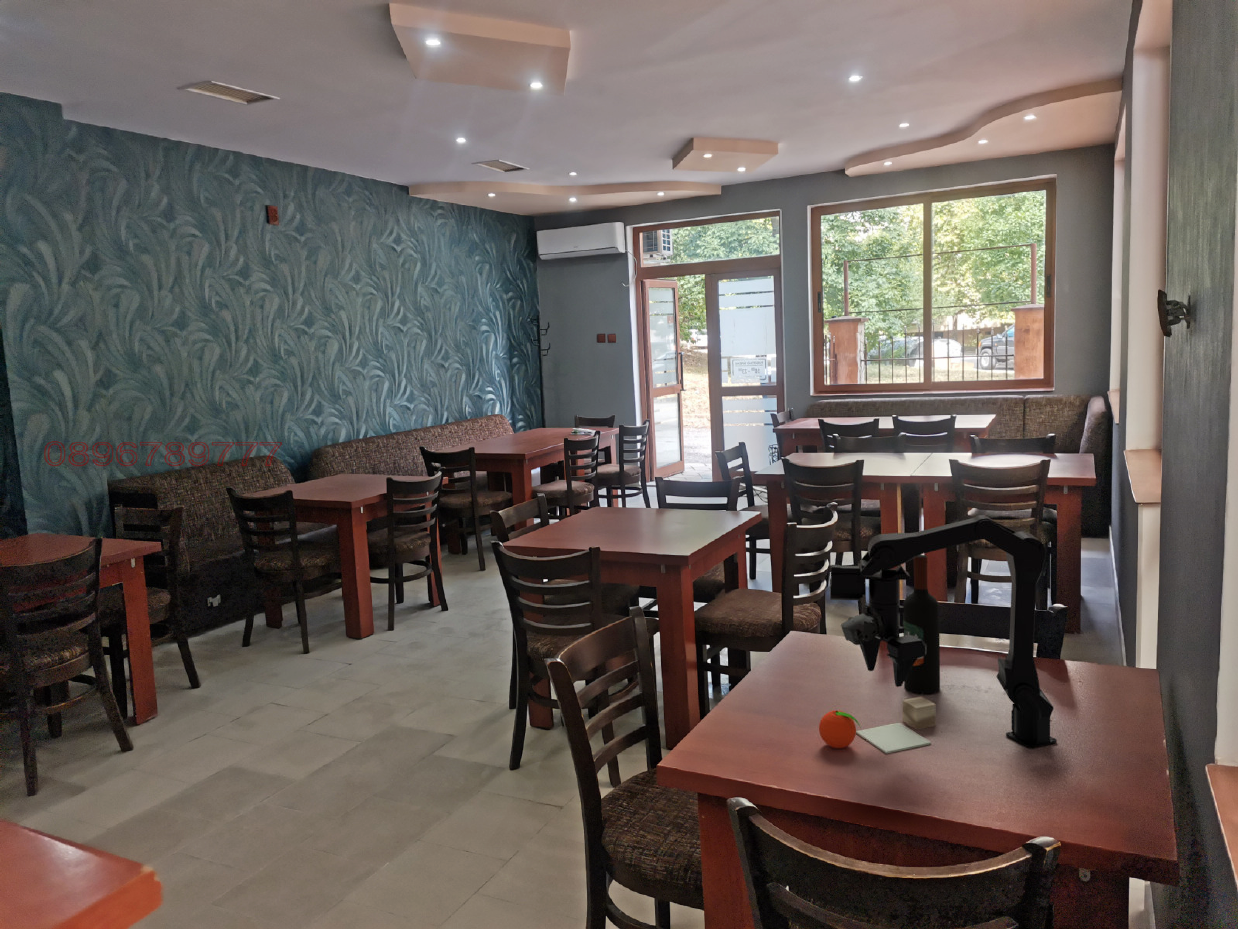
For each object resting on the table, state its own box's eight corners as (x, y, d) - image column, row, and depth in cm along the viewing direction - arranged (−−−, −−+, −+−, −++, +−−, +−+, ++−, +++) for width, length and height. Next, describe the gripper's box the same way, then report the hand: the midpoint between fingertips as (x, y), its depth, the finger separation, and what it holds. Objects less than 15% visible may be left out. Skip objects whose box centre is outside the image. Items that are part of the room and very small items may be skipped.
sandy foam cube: (935, 725, 175) (935, 704, 175) (916, 729, 174) (916, 708, 173) (921, 717, 180) (921, 696, 179) (902, 721, 178) (902, 700, 178)
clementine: (866, 743, 169) (865, 708, 168) (856, 758, 163) (855, 721, 162) (825, 736, 173) (824, 701, 172) (814, 750, 167) (813, 714, 166)
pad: (931, 744, 167) (931, 742, 167) (886, 753, 164) (886, 751, 164) (899, 724, 177) (899, 722, 176) (856, 733, 174) (855, 731, 173)
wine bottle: (942, 695, 190) (941, 560, 187) (906, 694, 192) (904, 560, 188) (937, 682, 198) (936, 552, 194) (902, 681, 199) (900, 552, 196)
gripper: (822, 593, 176) (823, 668, 178) (875, 618, 158) (876, 701, 160) (870, 587, 179) (870, 661, 181) (928, 611, 161) (927, 692, 163)
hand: (884, 678), depth 171 cm, fingers open, 9 cm apart
